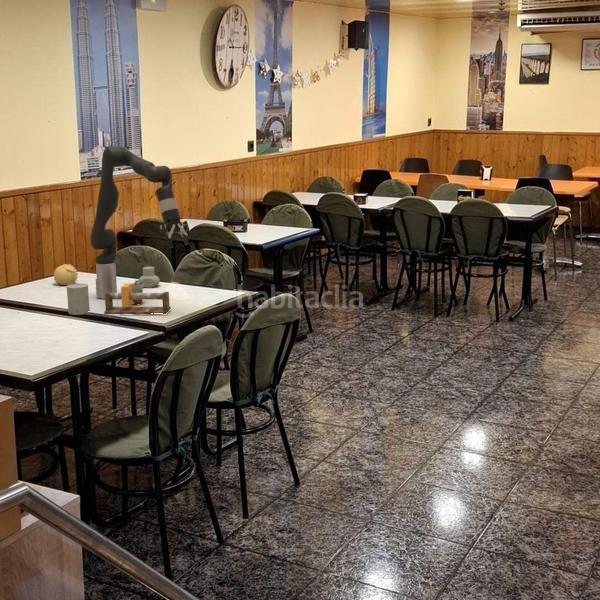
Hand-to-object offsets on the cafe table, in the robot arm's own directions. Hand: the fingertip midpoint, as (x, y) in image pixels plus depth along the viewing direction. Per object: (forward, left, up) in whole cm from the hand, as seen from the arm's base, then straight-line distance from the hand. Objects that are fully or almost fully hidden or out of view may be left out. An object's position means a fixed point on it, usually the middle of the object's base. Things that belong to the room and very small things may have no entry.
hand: (179, 246), depth 375 cm
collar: (-26, +6, -28) cm, 39 cm away
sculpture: (-73, +66, -32) cm, 104 cm away
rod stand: (-21, +6, -31) cm, 38 cm away
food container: (-25, +23, -32) cm, 47 cm away
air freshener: (-28, +61, -32) cm, 75 cm away
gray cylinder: (-48, +6, -32) cm, 58 cm away
